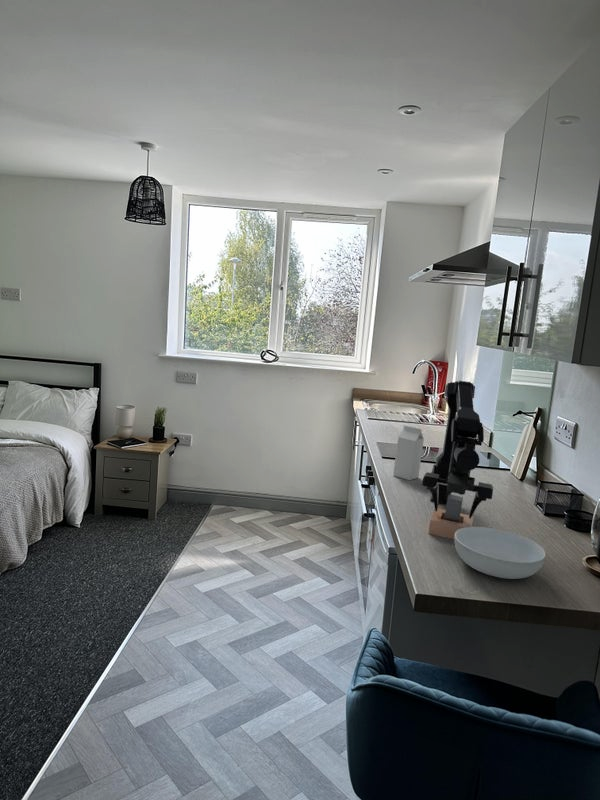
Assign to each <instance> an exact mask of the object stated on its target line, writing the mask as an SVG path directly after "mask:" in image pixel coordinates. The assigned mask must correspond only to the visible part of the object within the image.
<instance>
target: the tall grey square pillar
mask: <svg viewBox="0 0 600 800" xmlns="http://www.w3.org/2000/svg"><path fill="white" fill-rule="evenodd" d="M463 500H464V496H459V495H453V494H451V495H450V494H449V495H448V499H447V504H445V505H446V507H445V510H446V512H445V518H444V520H448V521H452V522H457V523H459V520H460V514H462V513H461V512H462V507H463Z"/></svg>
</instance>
